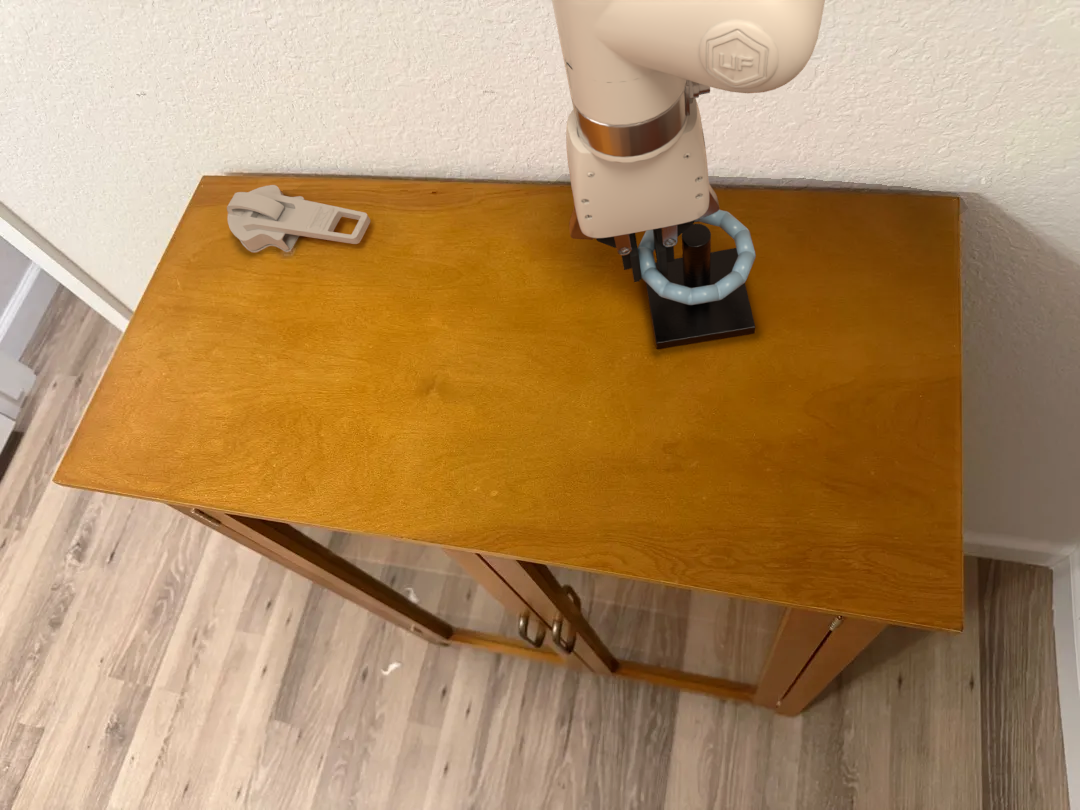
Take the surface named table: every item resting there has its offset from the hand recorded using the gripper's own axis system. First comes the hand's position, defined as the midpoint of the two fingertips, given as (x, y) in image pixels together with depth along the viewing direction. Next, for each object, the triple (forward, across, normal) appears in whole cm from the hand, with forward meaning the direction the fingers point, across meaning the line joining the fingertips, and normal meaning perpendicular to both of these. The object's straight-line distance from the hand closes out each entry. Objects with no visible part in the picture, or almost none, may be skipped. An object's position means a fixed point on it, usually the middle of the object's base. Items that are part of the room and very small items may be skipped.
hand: (648, 265), depth 68 cm
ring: (0, -4, 0) cm, 4 cm away
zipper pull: (+7, +37, -18) cm, 42 cm away
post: (+7, -4, 0) cm, 8 cm away
